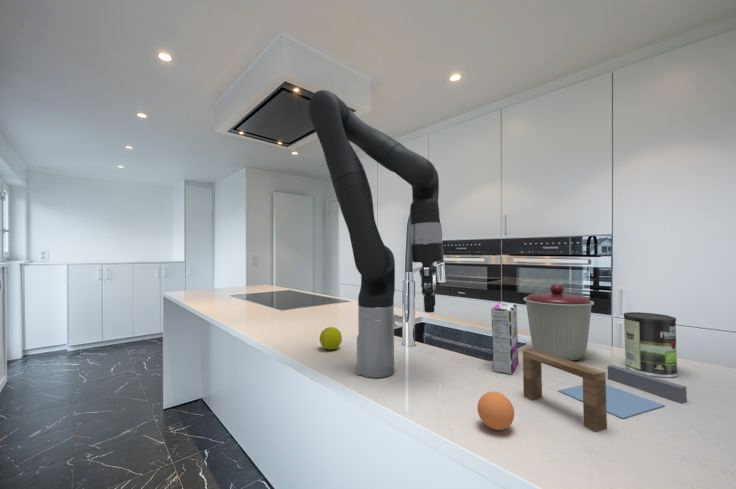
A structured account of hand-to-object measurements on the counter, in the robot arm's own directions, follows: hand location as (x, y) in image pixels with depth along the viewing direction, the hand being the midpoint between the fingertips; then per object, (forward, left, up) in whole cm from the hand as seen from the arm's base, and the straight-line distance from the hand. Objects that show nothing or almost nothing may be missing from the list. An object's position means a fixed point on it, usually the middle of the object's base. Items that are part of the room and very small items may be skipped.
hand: (430, 308), depth 79 cm
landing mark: (+36, -5, -17) cm, 40 cm away
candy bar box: (+20, +12, -17) cm, 29 cm away
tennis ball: (-31, +22, -17) cm, 42 cm away
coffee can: (+56, +14, -17) cm, 60 cm away
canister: (+38, +24, -17) cm, 48 cm away
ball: (+10, -20, -14) cm, 27 cm away
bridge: (+24, -12, -17) cm, 32 cm away
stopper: (+47, +1, -17) cm, 50 cm away
